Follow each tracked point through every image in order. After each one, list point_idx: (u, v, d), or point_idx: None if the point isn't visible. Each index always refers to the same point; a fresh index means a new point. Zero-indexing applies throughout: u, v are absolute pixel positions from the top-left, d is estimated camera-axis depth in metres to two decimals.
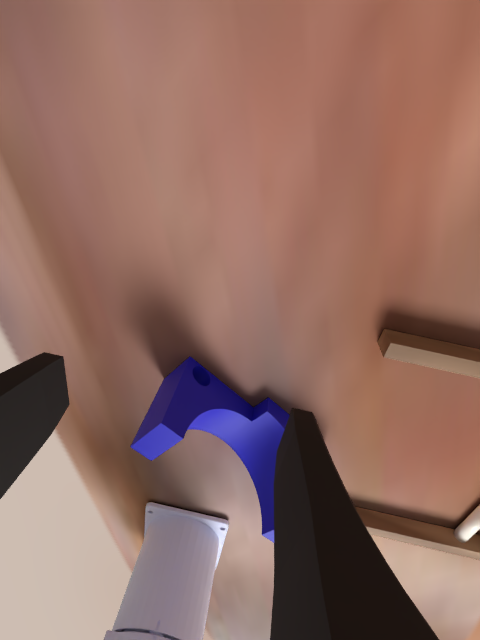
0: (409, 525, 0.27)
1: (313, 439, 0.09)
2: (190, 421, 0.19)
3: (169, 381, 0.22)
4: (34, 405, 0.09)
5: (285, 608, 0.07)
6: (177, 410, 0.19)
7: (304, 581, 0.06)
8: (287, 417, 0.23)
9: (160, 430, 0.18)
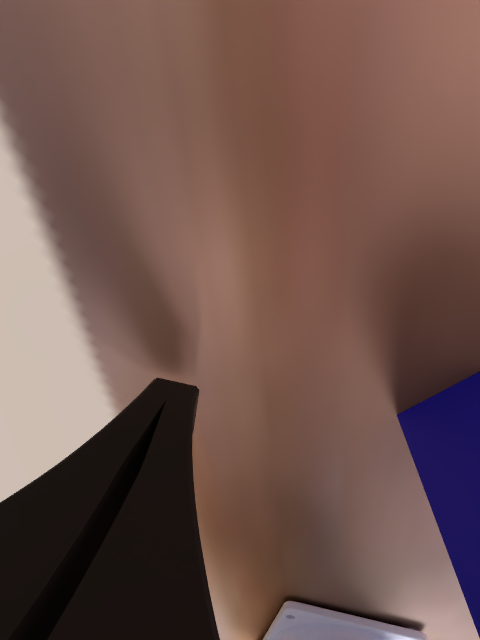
0: None
1: (180, 409, 0.09)
2: None
3: (450, 426, 0.10)
4: None
5: None
6: None
7: None
8: None
9: None
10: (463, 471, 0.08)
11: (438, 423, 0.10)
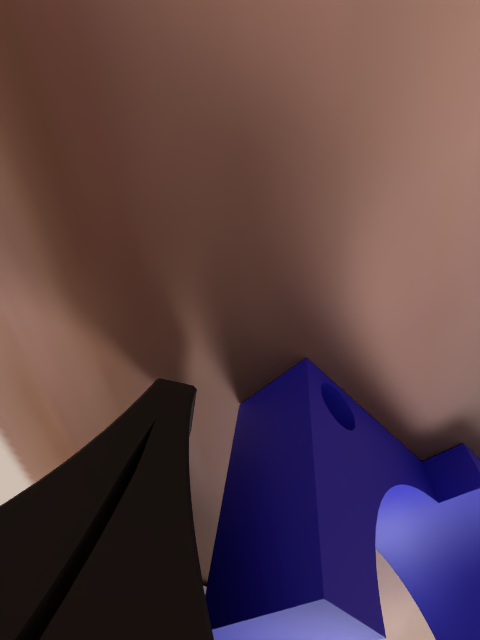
0: None
1: (177, 408, 0.09)
2: (372, 552, 0.06)
3: (264, 418, 0.10)
4: None
5: None
6: (339, 522, 0.06)
7: None
8: None
9: (313, 613, 0.05)
10: (254, 462, 0.09)
11: (259, 415, 0.10)
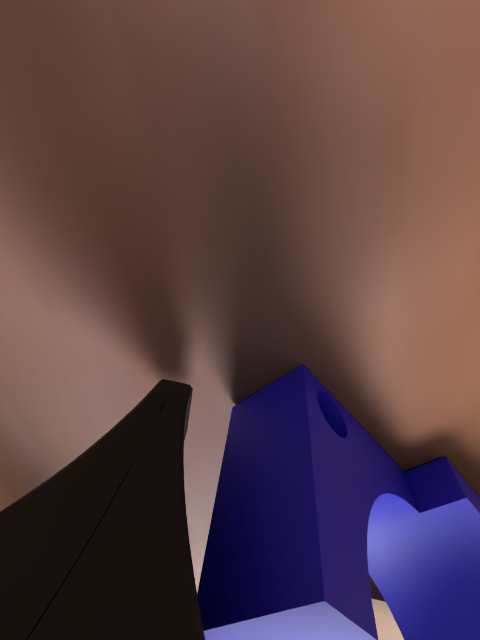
0: None
1: (172, 407, 0.09)
2: (365, 558, 0.07)
3: (259, 422, 0.10)
4: None
5: None
6: (335, 527, 0.06)
7: None
8: (479, 502, 0.11)
9: (311, 615, 0.05)
10: (249, 464, 0.09)
11: (253, 419, 0.10)
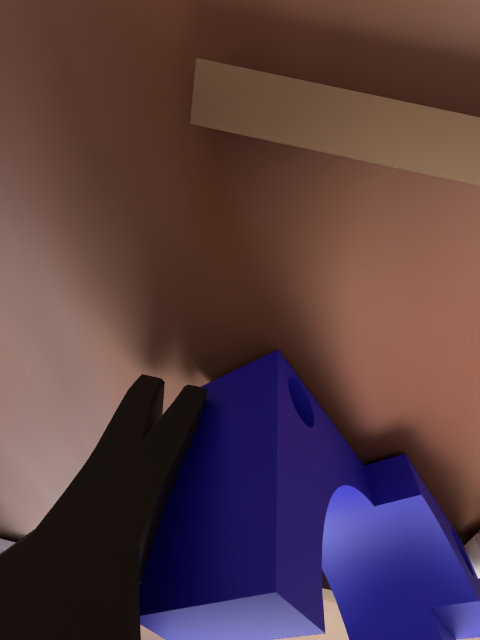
0: None
1: (140, 400, 0.09)
2: (319, 548, 0.06)
3: (226, 404, 0.09)
4: None
5: None
6: (294, 516, 0.06)
7: None
8: (431, 499, 0.12)
9: (260, 605, 0.05)
10: (211, 446, 0.08)
11: (220, 400, 0.10)
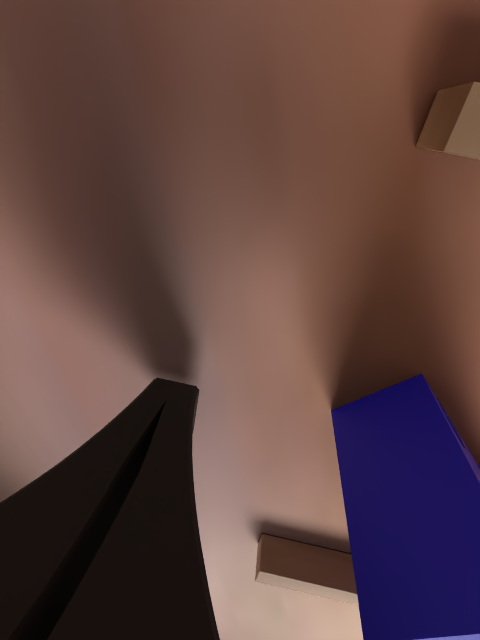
0: None
1: (180, 409, 0.09)
2: None
3: (378, 426, 0.09)
4: None
5: None
6: None
7: None
8: None
9: None
10: (381, 470, 0.08)
11: (367, 421, 0.10)
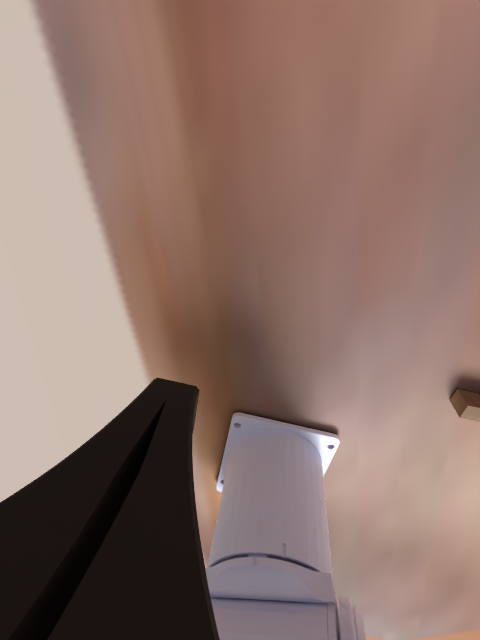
0: None
1: (180, 409, 0.09)
2: None
3: None
4: None
5: None
6: None
7: None
8: None
9: None
10: None
11: None
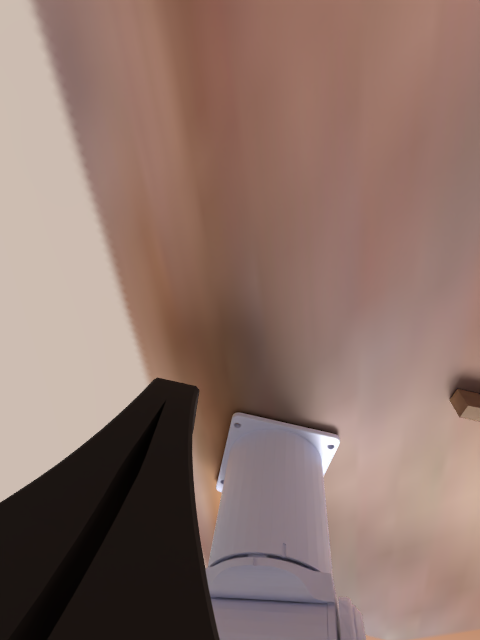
0: None
1: (180, 409, 0.09)
2: None
3: None
4: None
5: None
6: None
7: None
8: None
9: None
10: None
11: None
